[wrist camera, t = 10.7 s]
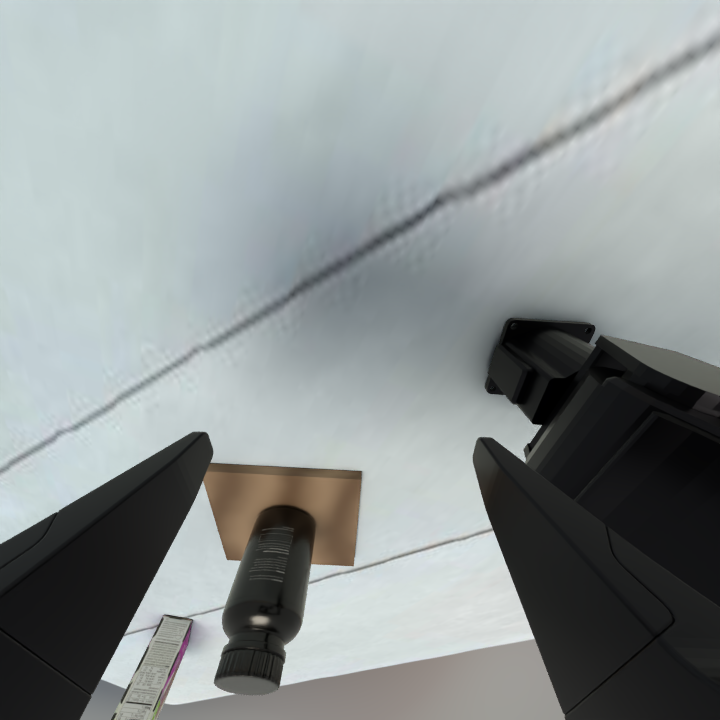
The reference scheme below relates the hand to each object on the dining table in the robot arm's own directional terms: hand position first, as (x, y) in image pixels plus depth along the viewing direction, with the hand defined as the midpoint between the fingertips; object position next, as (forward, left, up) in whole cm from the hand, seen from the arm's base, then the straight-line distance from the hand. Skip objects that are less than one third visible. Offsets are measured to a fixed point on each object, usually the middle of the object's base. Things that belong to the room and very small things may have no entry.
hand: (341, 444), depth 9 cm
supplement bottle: (+6, +24, -12) cm, 28 cm away
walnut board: (+6, +24, -13) cm, 28 cm away
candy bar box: (+27, +57, -13) cm, 65 cm away
